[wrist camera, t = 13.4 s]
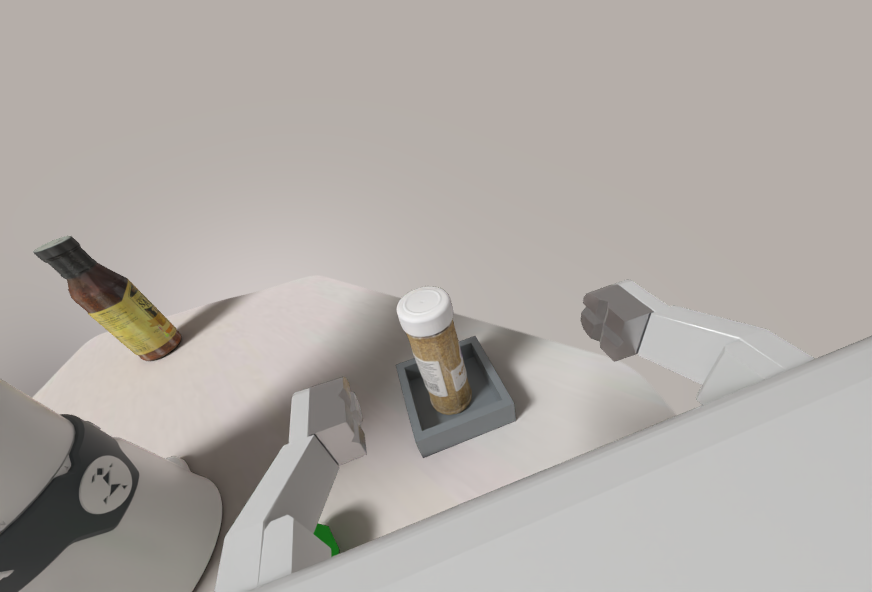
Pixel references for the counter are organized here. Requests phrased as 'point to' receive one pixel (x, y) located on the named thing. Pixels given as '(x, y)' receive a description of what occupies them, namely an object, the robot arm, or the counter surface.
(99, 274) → the sauce bottle
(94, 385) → the counter surface
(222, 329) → the counter surface
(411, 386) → the bin
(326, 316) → the counter surface
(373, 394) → the counter surface
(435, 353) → the sprinkles bottle
